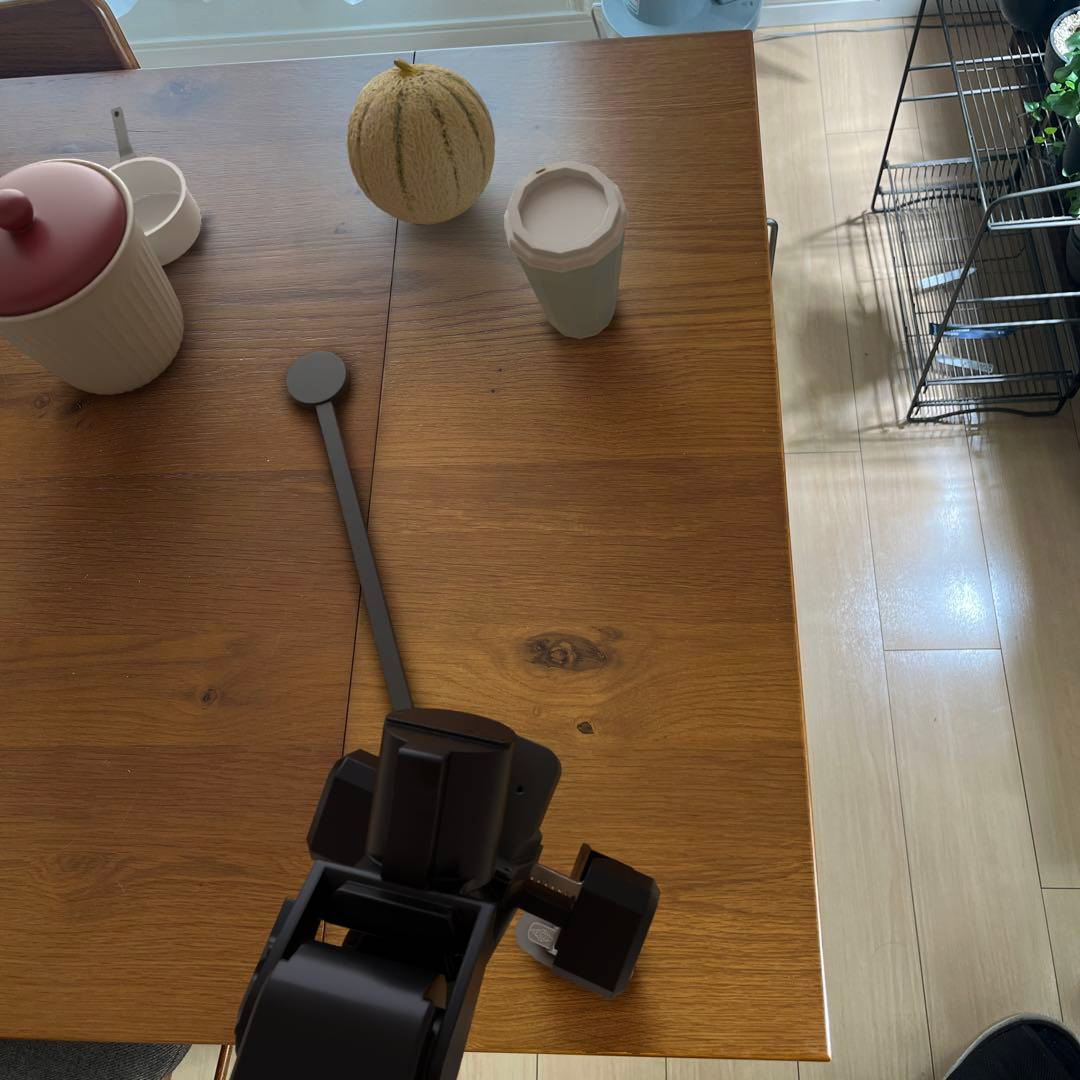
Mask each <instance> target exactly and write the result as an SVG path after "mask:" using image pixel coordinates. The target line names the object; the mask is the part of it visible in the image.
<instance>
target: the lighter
mask: <svg viewBox="0 0 1080 1080" xmlns="http://www.w3.org/2000/svg"><path fill="white" fill-rule="evenodd" d="M557 931H558V926H556V925H554V924H551V923H549V922H547V921H545V920H543V919H541V918H538V917H536V916H534V915H532V914H530V913H528V912H525V911H524V913H523V914H521V916H520V917H519V918H518V920H517V922H516V924H515V928H514V939H515V941H516V944H517V945H518V946H519V947H520V949H522V950H523V951H524V952H526V953H527V954H528V955H530V956H531V957H533V958H534V959H535V960H537V961H538V962H539V963H541V964H542V965H544V966H546V967H548V968H550V969H551V967H552V964H553V961H554V959H555V956H556V953H557V950H555V949H554V944H555V940H556V936H557ZM634 971H635V968H634V969H633V972H632V974H631V977H630V980H629V982H631V979H632V978H633V975H634V973H635V972H634Z"/></svg>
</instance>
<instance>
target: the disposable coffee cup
mask: <svg viewBox="0 0 1080 1080" xmlns="http://www.w3.org/2000/svg"><path fill="white" fill-rule="evenodd" d="M629 219H630V218H629V215H628V211H627V208H626V204H625V201H624V198H623V195H622V193H621V189H620V186H618V185H617V184H616V183H614V182H613V181H612V180H611V179H610V178H609V177H608V176H606V175H605V174H604V173H603V172H601V171H600V170H599V169H598V168H596V167H595V166H594V165H590V164H586V163H582V162H576V161H572V160H567V159H564V160H560V161H557V162H552V163H550V164H549V163H548V164H545V165H542V166H540V167H538V168H536V169H534V170H532V171H531V172H530V173H528V174H527V175H526V176H525V177H523V178H522V179H521V180H520V181H518V182H517V183H516V184H515V186H514V188H513V191H512V194H511V197H510V199H509V202H508V204H507V207H506V211H505V213H504V215H503V222H504V223H503V227H504V231H505V236H506V241H507V244H508V248H509V250H510V251H511V252H512V253H513V254H515V256H516V257H517V259H518V261H519V263H520V266H521V267H522V269H523V272H524V274H525V276H526V278H527V280H528V282H529V285H530V286H531V288H532V290H533V292H534V295H535V296H536V299H537V301H538V303H539V305H540V307H541V309H542V311H543V313H544V315H545V317H546V319H547V321H548V323H549V325H551V327H553V328H554V329H556V330H557V331H558V332H559V333H560V334H561V335H563V337H568V338H573V339H578V340H582V339H586V338H590V337H594V336H597V335H599V334H600V333H601V332H602V331H603V330H604V329H605V328H607V327H608V326H609V325H610V323H611V322H612V319H613V316H614V313H615V311H616V309H617V305H618V304H617V303H618V294H619V287H620V277H621V270H622V260H623V252H624V242H625V235H626V227H627V224H628V222H629Z"/></svg>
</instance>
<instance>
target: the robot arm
mask: <svg viewBox="0 0 1080 1080" xmlns="http://www.w3.org/2000/svg"><path fill="white" fill-rule="evenodd" d="M380 739H381V740H380V745H379V746H380V747H379V752H378V753H379V754H378V755H375V754H373V753H371V752H369V751H367V750H364V749H363V748H358V749H357V750H354V751H352V752H349V753H347V754H346V755H344V756H342V757H340V758H339V759H337V760H336V761H335V762H334V764H333V766H332V767H331V769H330V771H329V772H328V775H327V777H326V779H325V782H324V786H323V789H322V792H321V795H320V798H319V801H318V803H317V806H316V808H315V812H314V815H313V817H312V821H311V824H310V826H309V829H308V832H307V835H306V838H305V839H306V843H307V847H308V852H309V856H310V860H312V861H314V863H313V865H312V867H311V869H310V871H309V872H308V873H307V874H308V875H307V877H306V878H305V881H304V882H303V884H302V886H301V888H300V890H299V892H298V894H297V897H296V899H295V898H291V897H285V898H284V901H283V903H282V905H281V907H280V910H279V913H278V914H277V917H276V919H275V922H274V924H273V927H272V929H271V931H270V933H269V936H268V938H267V941H266V942H265V945H264V947H263V949H262V951H261V955H260V957H259V959H258V962H257V964H256V966H255V968H254V971H253V973H252V975H251V977H250V980H249V983H248V985H247V987H246V990H245V992H244V994H243V996H242V999H241V1001H240V1004H239V1007H238V1010H237V1014H236V1015H237V1016H236V1025H235V1028H234V1031H233V1034H234V1036H235V1042H234V1045H235V1046H234V1052H235V1057H236V1058H235V1060H234V1063H233V1066H232V1069H231V1072H230V1076H229V1078H228V1080H457V1079H458V1077H459V1073H460V1069H461V1065H462V1061H463V1058H464V1054H465V1050H466V1046H467V1042H468V1039H469V1036H470V1035H469V1034H470V1031H471V1027H472V1022H473V1018H474V1016H475V1011H476V1007H477V1003H478V999H479V995H480V992H481V988H482V984H483V980H484V978H485V973H486V968H487V965H488V964H489V962H490V960H491V958H492V956H493V955H494V953H495V951H496V949H497V948H498V946H499V944H500V942H501V941H502V939H503V937H504V936H505V933H506V932H507V930H508V928H509V926H510V925H511V923H512V922H513V919H514V917H515V916H516V914H517V912H518V911H519V910H521V911H522V912H523V911H524V913H525V912H528V913H530V914H532V915H534V916H536V917H538V918H541V919H543V920H545V921H547V922H549V923H551V924H554V925H556V926H558V931H557V936H556V940H555V944H554V949H555V950H557V953H556V956H555V959H554V961H553V964H552V967H551V968H550V970H549V972H550V973H552V974H554V975H556V976H558V977H560V978H562V979H564V980H567V981H569V982H571V983H573V984H575V985H577V986H579V987H581V988H584V989H585V990H588V991H590V992H591V993H594V994H597V995H598V996H601V997H603V998H605V999H607V1000H611V999H613V998H616V997H617V996H619V995H621V994H624V993H625V991H626V989H627V988H628V985H629V982H630V981H631V979H630V977H631V974H632V972H633V969H634V970H635V966H636V964H637V961H638V959H639V957H640V954H641V951H642V948H643V946H644V943H645V941H646V938H647V936H648V933H649V931H650V928H651V925H652V923H653V920H654V917H655V914H656V912H657V909H658V906H659V902H660V898H661V893H662V892H661V890H660V888H659V886H658V883H657V881H656V879H655V878H654V877H652V876H650V875H647V874H645V873H643V872H640V871H638V870H636V869H635V868H633V867H632V866H631V865H628V864H626V863H624V862H622V861H619V860H617V859H615V858H613V857H611V856H608V855H606V854H603V853H601V852H599V851H597V850H595V849H593V848H592V847H591V845H590V844H588V843H586V842H583V843H582V844H581V846H580V848H579V850H578V853H577V856H576V859H575V861H574V864H573V865H572V869H571V871H570V875H569V876H568V875H566V874H564V873H561V872H560V871H557V870H555V869H553V868H550V867H548V866H546V865H544V864H542V863H539V860H540V857H541V854H542V852H543V850H544V847H545V846H544V845H543V844H541V843H542V841H543V837H544V835H543V833H542V831H541V826H542V823H543V821H544V819H545V817H546V814H547V811H548V809H549V806H550V804H551V802H552V799H553V797H554V794H555V791H556V789H557V786H558V785H559V783H560V781H561V778H562V773H563V767H562V763H561V760H560V759H559V757H558V756H557V755H556V754H555V753H554V751H553V750H551V749H550V748H549V747H547V746H545V745H542V744H540V743H538V742H536V741H534V740H531V739H528V738H526V737H524V736H521V735H519V734H517V733H516V732H515V730H513V729H512V728H511V727H510V726H509V725H506V724H504V723H503V722H500V721H497V720H496V719H493V718H490V717H487V716H483V715H478V714H475V713H471V712H466V711H461V710H454V709H446V708H437V707H436V708H434V707H414V708H409V709H402V710H396V711H394V712H393V711H390V712H389V713H387V714H385V717H384V721H383V726H382V734H381V738H380ZM531 878H532V879H531ZM559 890H560V891H559ZM322 921H323V922H325V923H327V924H330V925H333V926H336V927H337V926H338V927H340V928H344V929H347V930H348V931H347V932H346V934H345V937H344V939H343V941H342V943H341V946H340V945H336V944H332V943H328V942H325V941H321V940H318V939H316V936H317V935H318V931H319V928H320V925H321V922H322ZM633 973H634V972H633ZM631 978H632V977H631ZM629 980H630V981H629Z"/></svg>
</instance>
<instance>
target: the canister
mask: <svg viewBox="0 0 1080 1080" xmlns="http://www.w3.org/2000/svg"><path fill="white" fill-rule="evenodd" d="M182 311H183V310H182V306H181V304H180V301H179V299H178V297H177V294H176V293H175V290H174V288H173V287H172V284H171V282H170V280H169V279H168V276H167V274H166V272H165V271H164V269H163V266H161V264H160V262H159V260H158V259H157V257H156V255H155V253H154V251H153V249H152V247H151V245H150V243H149V242H148V240H147V238H146V236H145V234H144V232H143V230H142V228H141V226H140V224H139V222H138V221H137V219H136V217H135V208H134V203H133V199H132V196H131V194H130V192H129V190H128V188H127V187H126V185H125V184H124V182H123V181H122V180H121V179H120V178H119V177H118V176H117V175H116V174H115V173H113V172H112V171H110V170H109V168H107V167H105V166H103V165H101V164H98V163H95V162H92V161H90V160H89V161H88V160H83V159H78V158H55V159H48V160H42V161H37V162H34V163H29V164H27V165H23V166H20V167H18V168H15V169H12V170H11V171H8V172H6V173H4V174H2V175H0V337H2V338H3V339H4V340H6V341H7V342H9V343H10V344H11V345H12V346H14V347H15V348H17V349H18V350H19V351H20V352H22V353H23V354H25V355H26V356H28V358H30V359H31V360H33V361H34V362H36V363H37V364H39V365H40V366H41V367H42V368H44V369H46V370H47V371H48V372H50V373H51V374H52V375H54V376H56V377H57V378H59V379H60V380H61V381H63V382H65V383H67V384H69V386H71V387H74V388H75V389H78V390H82V391H84V392H86V393H90V394H96V395H107V396H108V395H110V396H112V395H115V394H116V395H117V394H123V393H125V392H132V391H134V390H136V389H140V388H142V387H143V386H144V385H147V384H149V383H150V382H151V381H154V379H157V378H158V377H159V376H160V374H161V373H164V372H165V371H166V368H168V367H169V366H170V365H171V364H172V362H173V359H175V358H176V356H177V353H178V351H179V350H180V349H181V343H182V341H183V339H184V332H185V325H184V315H183V312H182Z"/></svg>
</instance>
